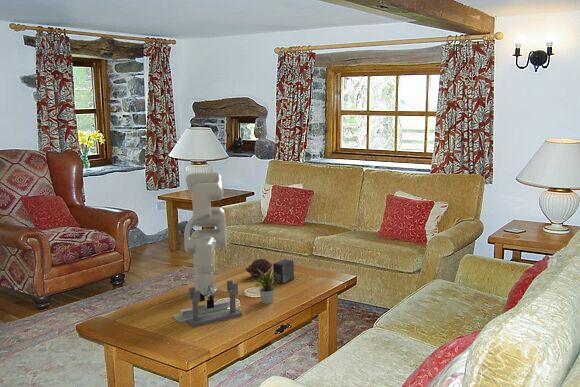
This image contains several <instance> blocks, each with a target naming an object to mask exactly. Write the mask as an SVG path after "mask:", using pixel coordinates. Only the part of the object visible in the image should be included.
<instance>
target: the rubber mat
mask: <svg viewBox="0 0 580 387" xmlns="http://www.w3.org/2000/svg"><path fill="white" fill-rule="evenodd" d="M236 309H237V310H239V311H240V308H239V307H238V306H236ZM228 310H230V309H223V310H219V311H214V312H209V313H205V314H200V315H198V317H201V316H205V315H210V314H215V313H219V312H224V311H228ZM171 316H172V318H174V319H175V320H176V321H177V322H178V323H179V324H182V323H187V319H192V318H193V316H191V317H187V318H182V317H180V313H179V314H173V315H171Z"/></svg>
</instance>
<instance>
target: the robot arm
mask: <svg viewBox="0 0 580 387" xmlns="http://www.w3.org/2000/svg"><path fill="white" fill-rule="evenodd" d="M185 183H186V187H187V190H188V192H189V194H190V196H191V202H192V216H191V218H190V219H189V220H188V222H187V223H186V225H185V228H184V232H183V238H184V239H183V242H184V250H185V252H186V253H187V254H192V255H193V273H194V274H193V276H194V287H195V291H197V290H199V291H200V302H199V303H202V302H205V301H206V304H207V308H208V309H209V308H214V303H215V295H216V294H215V293H216V292H217V291H218V288H217V286H215V283H214V278H215V277H214V256H213V254H214V252H215V250H216V249H220V248H222V249H223V248H224V247H226V245H227V220H226V212H225V209H224V208H222V207H221V206H220V207H219V206H212V201H220V200H222V199H223V197H224V185H223V184H224V182H223V177H222V174H221V173H220V172H194V173H190V174H187V175H186V178H185ZM195 226H196V227H198V228H205V229H196V230H194V231H192V229H193V228H194V227H195ZM206 227H207V228H206ZM209 227H216V228H209ZM191 231H192V232H191ZM206 298H207V300H206Z"/></svg>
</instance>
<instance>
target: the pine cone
mask: <svg viewBox="0 0 580 387" xmlns="http://www.w3.org/2000/svg"><path fill="white" fill-rule="evenodd" d="M271 268H273V263H271V262H269V260H267V259H265V258H257V259H254V260H253V261H252V263H251V264H248V267H245V271H246V272H247V273H249V274H250V276H251V277H253V278H257V279H258V278H259V279H260V277H262V275H261V273H260V271H261V272H263V273H264V275H265V274H267V272H268V270H269V271H270V269H271ZM257 269H258V270H257ZM259 270H260V271H259ZM256 274H257V275H256ZM258 275H259V276H260V277H259V276H258Z"/></svg>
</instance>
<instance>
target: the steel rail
mask: <svg viewBox="0 0 580 387" xmlns="http://www.w3.org/2000/svg"><path fill="white" fill-rule="evenodd" d="M228 307H230V299H226V300H221V301H216V302H215V301H214V308H209V309H208V308H207V303H205V304H201V305H198V315H200V314H205V313H209V312H214V311H219V310H223V309H227V308H228ZM179 314H180V317H182V318H187V317H191V316H193V308H192V307H186V308H183V309H179Z"/></svg>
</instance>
